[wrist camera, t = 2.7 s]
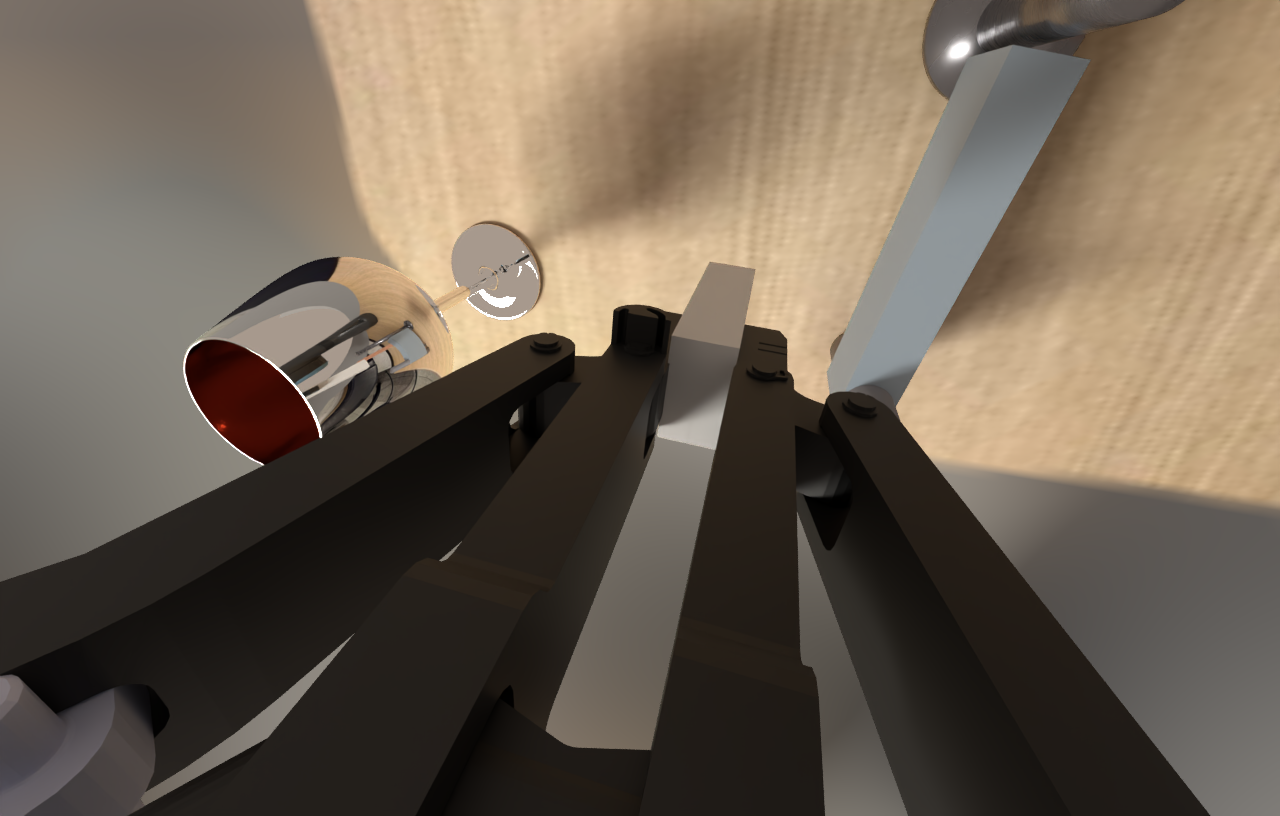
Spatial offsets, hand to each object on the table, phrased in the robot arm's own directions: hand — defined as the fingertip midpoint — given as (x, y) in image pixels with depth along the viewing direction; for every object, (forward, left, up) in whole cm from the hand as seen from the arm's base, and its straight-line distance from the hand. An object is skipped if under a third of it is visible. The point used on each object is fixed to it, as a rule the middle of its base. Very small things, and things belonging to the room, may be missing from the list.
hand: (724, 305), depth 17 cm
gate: (-1, +8, -13) cm, 15 cm away
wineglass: (+7, -15, -13) cm, 21 cm away
